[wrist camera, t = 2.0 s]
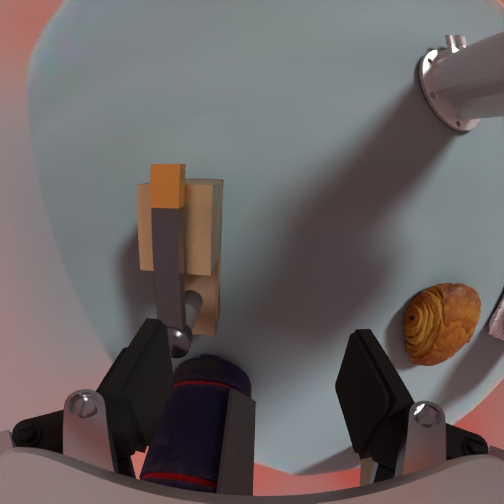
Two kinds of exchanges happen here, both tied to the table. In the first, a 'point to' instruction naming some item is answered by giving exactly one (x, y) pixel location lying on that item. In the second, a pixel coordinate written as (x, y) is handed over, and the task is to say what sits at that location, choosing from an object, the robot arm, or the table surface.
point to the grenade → (205, 431)
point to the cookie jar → (497, 321)
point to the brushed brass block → (187, 226)
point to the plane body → (203, 295)
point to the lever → (169, 253)
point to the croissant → (440, 322)
